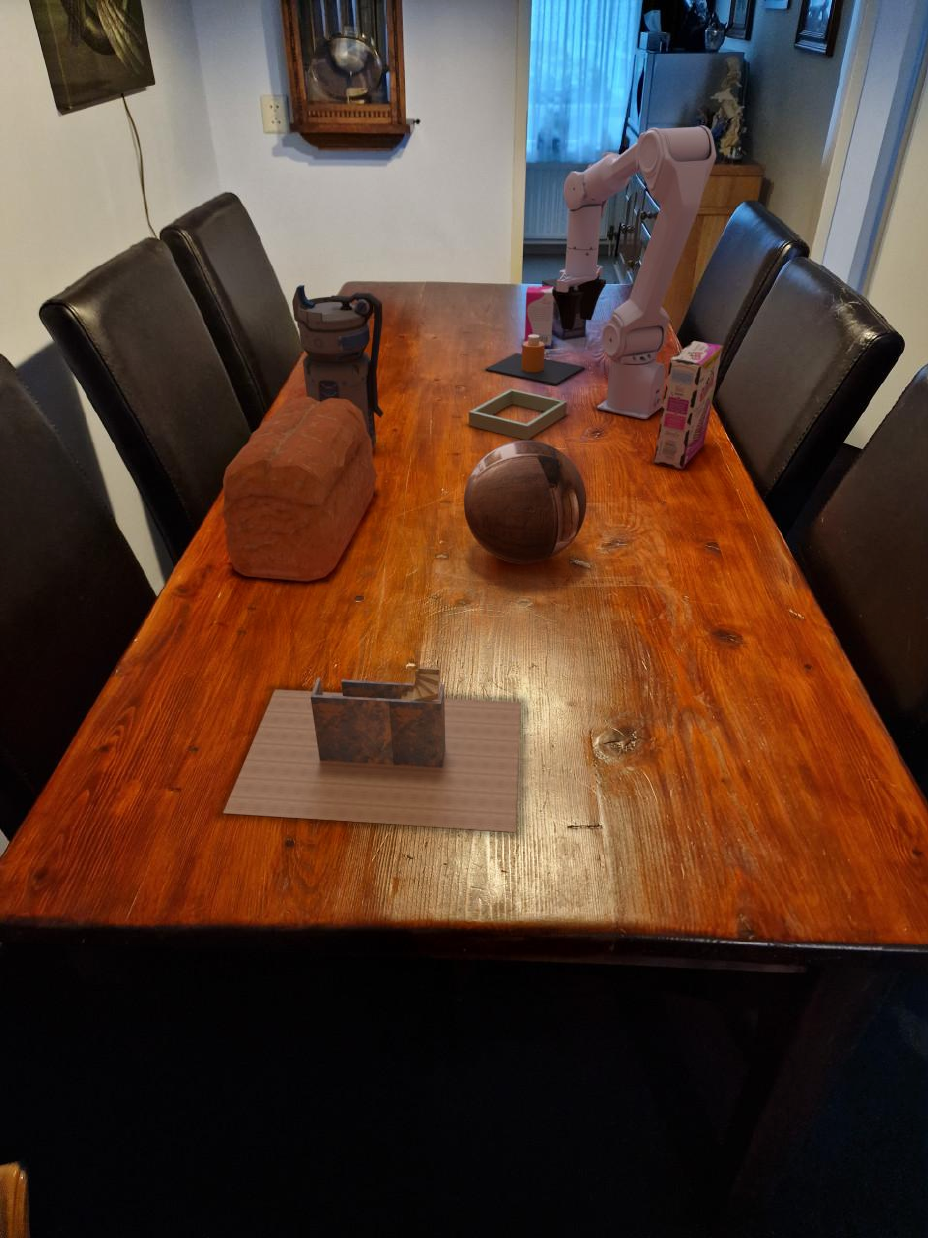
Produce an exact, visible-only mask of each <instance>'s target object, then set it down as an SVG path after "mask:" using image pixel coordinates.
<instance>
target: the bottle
mask: <svg viewBox="0 0 928 1238" xmlns="http://www.w3.org/2000/svg"><path fill="white" fill-rule="evenodd" d="M539 337H540V336H539V335H536V334H532V335H529V336H528V341H525V340H524V341H523V342H522V343H521V344H522V345H521V347H522V348H521V354H522V365H521V369H522V370H523V371H525V372H540V371H542V370H543V368H544V359H545V349H546V348H545V344H544V343H543V342H541V341H539Z"/></svg>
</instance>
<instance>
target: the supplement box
mask: <svg viewBox="0 0 928 1238" xmlns="http://www.w3.org/2000/svg"><path fill="white" fill-rule="evenodd" d="M552 289H553V287H542V286H536V285H535V286H534V285H533V286H531V285H530V286H529V285H528V286H527V287H526V292H525V316H524V317H525V319H524V321H525V322H524V342H525V341H528V336H529V335H532V334H536V335H539V336H540V337H539V341H541V342H543V343H544V344H545V349H551V348H552V338H553V337H552V335H553V334H552V319H553V295H552Z"/></svg>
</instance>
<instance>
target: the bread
mask: <svg viewBox="0 0 928 1238" xmlns="http://www.w3.org/2000/svg"><path fill="white" fill-rule="evenodd" d="M373 459H374V458H373V449H372V439H371V438H370V436H369V434H368V433H367V429H366V423H365V420H364V417H363V414H362V411H361V410H360V409H359V408H358V407H356V406H355V405H354V404H353V403H352V402H350V401H349V400H348V399H337V398H329V399H326V400H324V401H322V402H319V401H317V400H315V399H313V398H311V397H307V396H300V397H295V398H293V399H291V400H289V401H288V402H287V403H285V404H284V405H282V407H280V408H279V410H277V412H275V413H274V414H273V415H272V416H270V418H269V419H267V420H265V421H264V422H262V423H261V424H260V427H259V428H258V429H256V430H254V432H252V433H251V436H250V437H249V440H248V442H247V443H246V444H245V445H243V446H242V447H241V448H240V450H239V451H238V452H237V454H236V455H235V457H234V458H233V459H232V461H230V463H229V464H228V466H227V467H225V471H224V476H223V479H222V485H223V496H224V498H223V506H222V512H221V514H222V517H223V520H224V523H225V530H224V535H225V542H226V543H225V545H226V551H227V554H228V556H229V559H230V561H231V563H232V566H233V569H234V571H236V572H237V573H238V574H240V575H242V576H244V577H251V578H252V577H253V578H262V579H273V580H283V581H284V580H286V581H296V582H311V581H316V580H320V579H324V578H326V577H327V576H328V575H329V574H330V573H331V572H332V571H334V569H335V568H336V567H337V565H338V563H339V561H340V559H341V558H342V556H343V554H344V552H345V550H346V549H347V547H348V545H349V543H350V542H351V541H352V538H353V536H354V535H355V533H356V531H357V528H358V526H360V525H359V524H360V522H361V521H362V520H363V519H362V518H363V517H364V515H365V513H366V511H367V509H368V507H370V504H371V502H372V501H373V497H374V494H375V493H374V492H375V488H376V487H375V486H376V483H377V477H378V474H377V471H376V470H375V467H374V460H373Z"/></svg>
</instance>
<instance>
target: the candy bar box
mask: <svg viewBox="0 0 928 1238" xmlns="http://www.w3.org/2000/svg"><path fill="white" fill-rule="evenodd" d="M723 348H724V345H720V344H717V343H711V342H703V341H696V340H693V341H692V342H691V343H689V344H688V345H687V346H686V347H683V349H682V350H680V351H679V352H678V353H676V354H675V355H674V356H672V357H671V358H670V359H669V366H668V372H667V377H666V382H665V383H666V384H665V389H664V395H663V401H662V404H663V406H662V407H661V408H662V409H661V415H660V421H659V428H658V434H657V439H656V440H657V441H656V447H655V452H654V460H653V463H654V464H656V465H657V464H658V465H661V466H665V467H669V468H673V469H677V470H683V469H684V468H685V467H686V466H687V464H688V463H689V462H690V461H691V459H693V458H694V456H695V455H696V454H697V453H698V452H699V450H701V449H702V448H703V447H704V446H705V441H706V436H707V430H708V425H709V419H710V415H711V409H712V405H713V399H714V394H715V389H716V385H717V379H718V374H719V369H720V364H721V363H720V362H721V359H722V354H723Z"/></svg>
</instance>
